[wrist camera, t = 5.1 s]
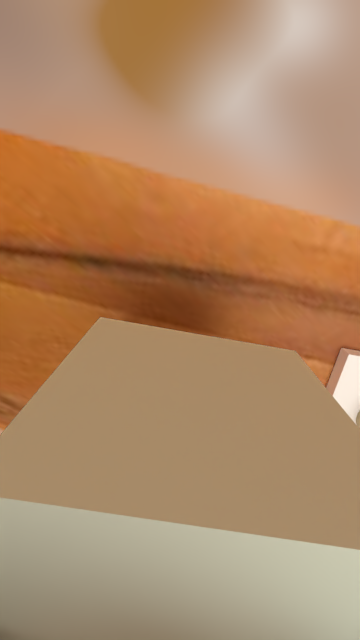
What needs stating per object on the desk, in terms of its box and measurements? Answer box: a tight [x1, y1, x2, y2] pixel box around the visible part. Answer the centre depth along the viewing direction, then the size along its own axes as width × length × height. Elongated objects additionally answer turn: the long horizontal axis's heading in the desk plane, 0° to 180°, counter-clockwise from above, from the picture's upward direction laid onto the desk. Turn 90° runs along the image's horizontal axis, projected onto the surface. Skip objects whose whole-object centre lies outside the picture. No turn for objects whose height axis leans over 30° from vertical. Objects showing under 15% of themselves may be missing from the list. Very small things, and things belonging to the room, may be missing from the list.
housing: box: [0, 317, 360, 640], centre depth 11 cm, size 9×9×9 cm
